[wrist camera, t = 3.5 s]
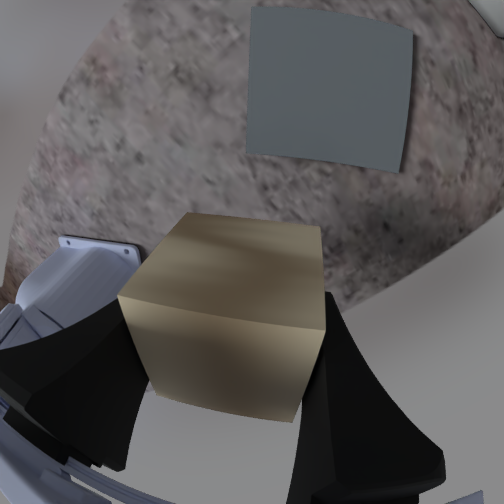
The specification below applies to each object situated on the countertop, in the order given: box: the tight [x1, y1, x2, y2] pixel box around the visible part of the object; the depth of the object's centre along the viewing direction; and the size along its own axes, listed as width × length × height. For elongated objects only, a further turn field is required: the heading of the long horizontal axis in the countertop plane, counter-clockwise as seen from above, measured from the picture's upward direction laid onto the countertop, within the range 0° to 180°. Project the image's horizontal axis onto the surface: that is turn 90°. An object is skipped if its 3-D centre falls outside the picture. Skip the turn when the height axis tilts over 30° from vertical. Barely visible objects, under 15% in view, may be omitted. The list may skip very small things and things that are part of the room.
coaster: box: [246, 7, 413, 174], centre depth 13 cm, size 9×9×1 cm
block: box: [117, 212, 326, 423], centre depth 9 cm, size 5×5×5 cm
